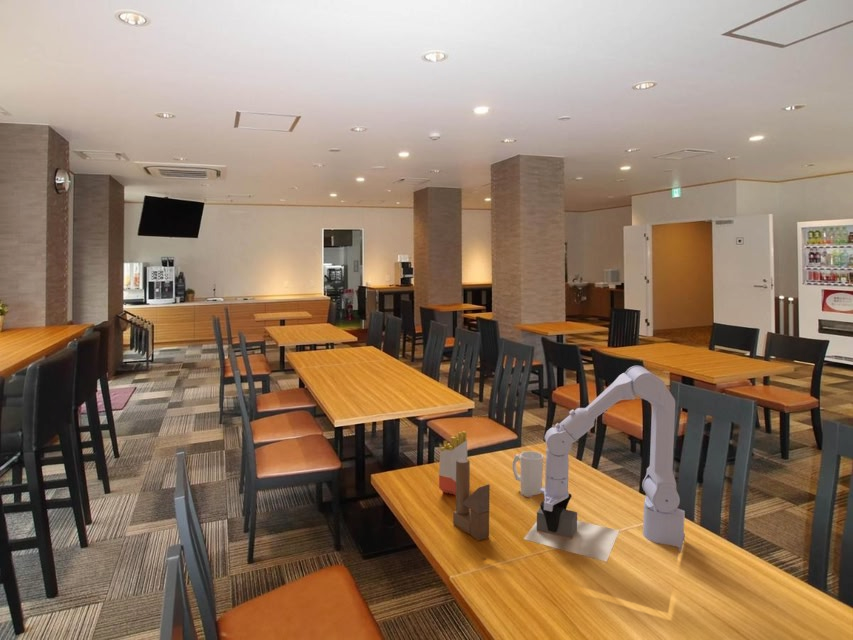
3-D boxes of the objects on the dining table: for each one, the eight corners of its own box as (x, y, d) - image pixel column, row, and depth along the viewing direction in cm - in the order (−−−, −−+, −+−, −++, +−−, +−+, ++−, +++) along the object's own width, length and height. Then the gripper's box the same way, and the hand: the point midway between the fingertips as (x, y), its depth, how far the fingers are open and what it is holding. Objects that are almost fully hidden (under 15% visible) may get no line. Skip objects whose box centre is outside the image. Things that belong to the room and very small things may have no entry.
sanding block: (576, 530, 134) (577, 512, 133) (571, 539, 129) (572, 520, 129) (542, 522, 138) (542, 504, 137) (536, 530, 134) (536, 512, 133)
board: (619, 534, 134) (619, 530, 134) (606, 565, 120) (606, 561, 120) (543, 515, 144) (543, 512, 144) (523, 542, 130) (523, 539, 130)
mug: (546, 493, 158) (547, 454, 156) (535, 500, 153) (535, 461, 151) (518, 483, 164) (519, 446, 163) (506, 490, 159) (506, 452, 158)
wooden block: (478, 541, 131) (479, 473, 129) (452, 524, 139) (452, 459, 137) (489, 537, 133) (490, 469, 131) (463, 520, 142) (463, 456, 139)
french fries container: (438, 495, 156) (437, 437, 154) (454, 482, 166) (454, 427, 164) (451, 498, 154) (451, 440, 152) (467, 485, 163) (467, 429, 161)
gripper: (549, 462, 140) (548, 510, 142) (532, 482, 128) (531, 534, 129) (576, 467, 137) (574, 516, 138) (560, 488, 124) (559, 542, 126)
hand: (555, 526), depth 134 cm, fingers closed on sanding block, 5 cm apart
